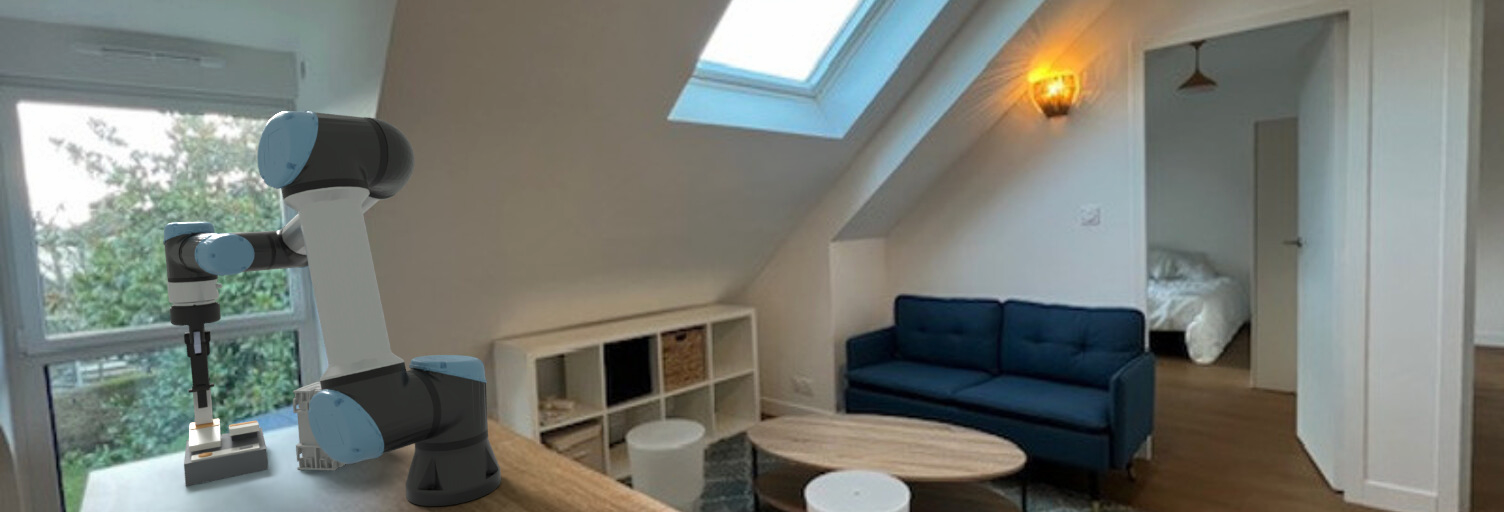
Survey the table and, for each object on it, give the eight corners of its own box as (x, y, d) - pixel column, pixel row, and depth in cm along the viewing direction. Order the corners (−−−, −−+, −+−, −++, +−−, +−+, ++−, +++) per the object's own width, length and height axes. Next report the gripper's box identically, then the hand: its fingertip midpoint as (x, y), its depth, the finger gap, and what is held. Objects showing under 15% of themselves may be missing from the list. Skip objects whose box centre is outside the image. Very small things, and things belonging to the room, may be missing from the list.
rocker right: (259, 430, 134) (258, 423, 134) (229, 436, 131) (229, 428, 131) (257, 426, 142) (257, 420, 142) (229, 431, 139) (228, 425, 139)
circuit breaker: (382, 443, 144) (378, 372, 143) (334, 470, 130) (329, 391, 129) (348, 443, 145) (344, 372, 144) (297, 469, 131) (292, 390, 129)
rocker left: (221, 446, 130) (220, 439, 130) (189, 452, 128) (188, 445, 127) (219, 424, 138) (219, 418, 138) (190, 429, 135) (189, 423, 135)
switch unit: (267, 469, 131) (266, 443, 130) (185, 486, 124) (183, 459, 123) (263, 446, 143) (261, 423, 143) (188, 460, 136) (186, 435, 136)
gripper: (219, 304, 131) (229, 427, 133) (219, 297, 141) (227, 411, 143) (167, 308, 126) (178, 435, 128) (171, 300, 136) (180, 418, 138)
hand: (204, 422), depth 136 cm, fingers closed
